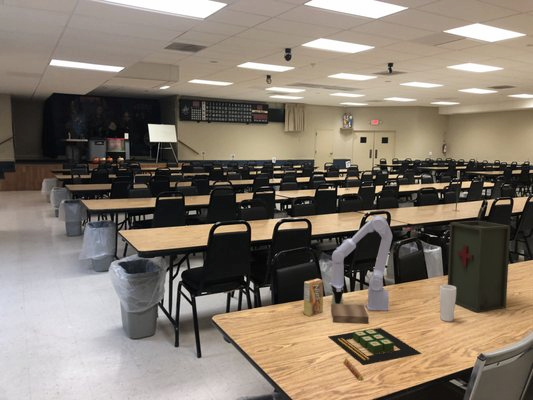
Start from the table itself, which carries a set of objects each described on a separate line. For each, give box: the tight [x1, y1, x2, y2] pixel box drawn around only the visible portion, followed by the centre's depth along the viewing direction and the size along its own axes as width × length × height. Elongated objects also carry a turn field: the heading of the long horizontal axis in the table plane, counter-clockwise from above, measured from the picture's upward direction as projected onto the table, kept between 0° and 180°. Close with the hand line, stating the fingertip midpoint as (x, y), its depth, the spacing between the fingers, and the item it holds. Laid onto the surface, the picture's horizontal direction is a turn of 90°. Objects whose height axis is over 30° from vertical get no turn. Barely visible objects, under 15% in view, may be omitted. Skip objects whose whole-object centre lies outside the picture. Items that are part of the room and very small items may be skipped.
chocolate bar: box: [342, 357, 364, 381], centre depth 142 cm, size 3×12×2 cm, turn 13°
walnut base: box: [330, 303, 369, 324], centre depth 191 cm, size 15×15×3 cm
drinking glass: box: [439, 284, 456, 322], centre depth 187 cm, size 7×7×15 cm
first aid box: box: [447, 220, 511, 314], centre depth 206 cm, size 18×18×40 cm
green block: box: [331, 292, 343, 304], centre depth 208 cm, size 4×4×5 cm
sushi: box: [328, 327, 422, 366], centre depth 162 cm, size 25×25×4 cm
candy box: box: [303, 278, 324, 317], centre depth 195 cm, size 9×4×15 cm, turn 129°
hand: (337, 301), depth 208 cm, fingers closed on green block, 4 cm apart
